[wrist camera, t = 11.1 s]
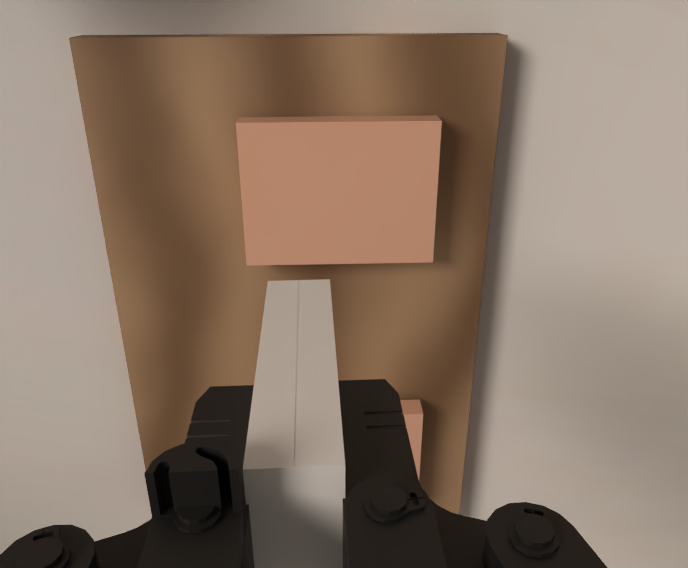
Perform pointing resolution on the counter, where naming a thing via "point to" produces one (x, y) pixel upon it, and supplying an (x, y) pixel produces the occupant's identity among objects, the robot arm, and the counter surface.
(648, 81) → the counter surface
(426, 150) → the tile
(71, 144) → the counter surface
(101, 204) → the board
